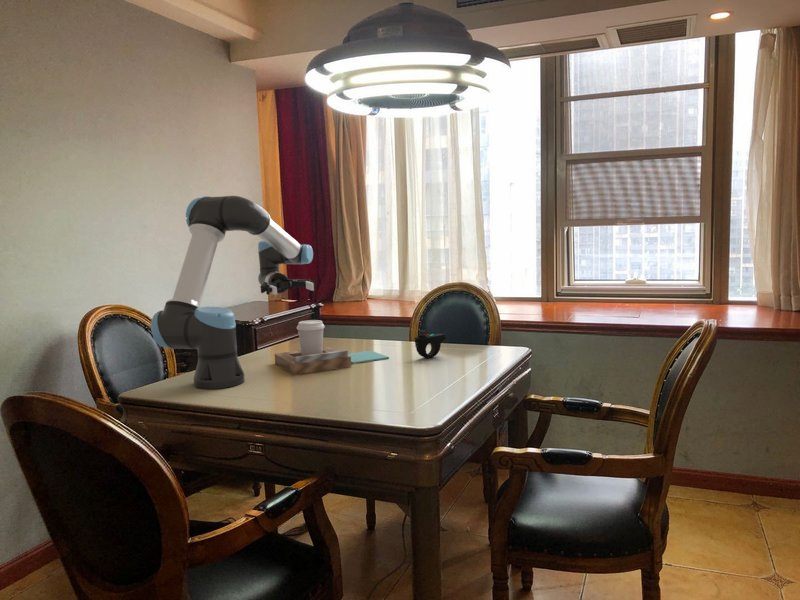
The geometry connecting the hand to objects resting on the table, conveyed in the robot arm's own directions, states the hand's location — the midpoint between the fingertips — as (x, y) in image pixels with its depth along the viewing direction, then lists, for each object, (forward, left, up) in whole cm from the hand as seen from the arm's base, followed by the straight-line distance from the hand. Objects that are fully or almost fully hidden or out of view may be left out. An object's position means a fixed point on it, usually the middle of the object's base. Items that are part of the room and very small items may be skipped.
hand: (294, 289), depth 227 cm
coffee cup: (0, -13, -25) cm, 29 cm away
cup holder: (0, -13, -25) cm, 28 cm away
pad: (+19, -13, -25) cm, 34 cm away
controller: (+39, -27, -25) cm, 54 cm away
